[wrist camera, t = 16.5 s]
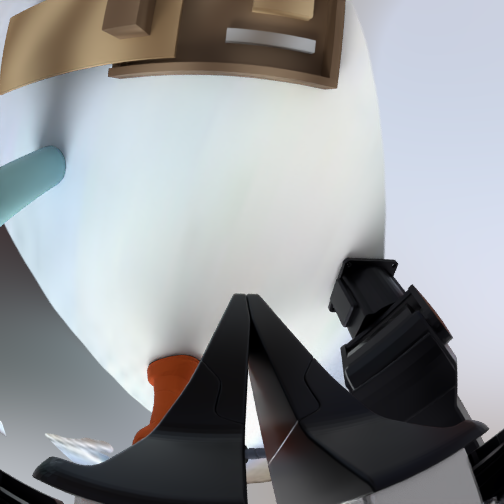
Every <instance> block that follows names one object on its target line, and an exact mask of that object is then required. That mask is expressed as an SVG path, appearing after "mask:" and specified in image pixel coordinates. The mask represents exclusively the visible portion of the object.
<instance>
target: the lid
mask: <svg viewBox="0 0 504 504" xmlns="http://www.w3.org/2000/svg"><path fill="white" fill-rule="evenodd" d="M183 3H184V0H46V1H43V2H41V3H39V4H37V5H35V6H33V7H31V8H28V9H26V10H25V11H23V12H21V13H19V14H17V15H15V16H13V17H11V18H10V22H9V26H8V30H7V35H6V40H5V45H4V51H3V57H2V64H1V73H0V95H3V94H5V93H7V92H10V91H12V90H15V89H17V88H20V87H23V86H26V85H28V84H31V83H34V82H37V81H40V80H44V79H47V78H50V77H54V76H57V75H61V74H65V73H69V72H73V71H77V70H81V69H86V68H91V67H96V66H101V65H107V64H113V63H120V62H128V61H137V60H147V59H160V58H175V57H176V49H177V41H178V34H179V27H180V21H181V15H182V9H183Z"/></svg>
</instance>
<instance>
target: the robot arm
mask: <svg viewBox="0 0 504 504" xmlns="http://www.w3.org/2000/svg"><path fill="white" fill-rule="evenodd" d="M348 263H349V264H348ZM347 264H348V265H347ZM393 264H394V265H393ZM392 265H393V266H392ZM397 266H398V263H397V262H396V261H395V260H388V259H360V258H347V259H345V260H344V262H343V264H342V267H341V271H340V274H339V277H338V279H337V280H336V283H335V286H334V289H333V292H332V294H331V297H330V303H329V306H328V308H329V311H330V312H336V313H337V315H338V317H339V319H340V321H341V324H342V325H343V327H347V328H348V330H349V332H350V335H351V337H352V340H351V341H350V342H349V343H347V344H345V345H343V346H342V347H341V356H342V364H343V372H344V379H345V385H346V387H347V388H348V389H349V392H348V391H347V390H346V389H345V388H344V387H343V386H341V385H340V384H339V383H338V382H337V381H336V380H335V379H334V378H333V377H332V376H331V375H330V374H329V373H328V372H327V371H326V370H325V369H324V368H323V367H322V366H321V365H320V364H319V363H318V362H317V360H316V359H315V358H313V356H312V355H311V354H310V353H309V352H308V350H307V349H306V348H305V347H304V346H303V345H302V344H301V343H300V341H299V340H298V339H297V338H296V337H295V336H294V335H293V333H292V332H291V331H290V330H289V329H288V328H287V327H286V325H285V324H284V323H283V322H282V321H281V320H280V319H279V317H278V316H277V315H276V314H275V313H274V312H273V310H272V309H271V308H270V307H269V306H268V305H267V304H266V302H265V301H264V300H263V299H262V298H261V297H260V295H258V294H247V295H245V294H234V295H233V296H232V298H231V300H230V302H229V304H228V306H227V308H226V310H225V312H224V314H223V316H222V318H221V320H220V322H219V324H218V326H217V328H216V330H215V332H214V334H213V336H212V338H211V340H210V342H209V344H208V346H207V348H206V350H205V352H204V354H203V356H202V358H201V361H200V362H199V364H198V366H197V368H196V370H195V372H194V374H193V375H192V377H191V379H190V381H189V382H188V384H187V385H186V387H185V388H184V390H183V391H182V393H181V394H180V396H179V397H178V398H177V400H176V401H175V403H174V404H173V405H172V407H171V408H170V409H169V411H168V412H167V413H166V415H165V416H164V417H163V419H162V420H161V421H160V423H159V424H158V425H157V426H156V428H155V429H154V430H153V431H152V432H151V433H150V434H149V435H147V436H146V437H145V438H143V439H142V440H140V441H138V442H137V443H135V444H134V445H132V446H130V447H129V448H127V449H125V450H124V451H122V452H120V453H119V454H117V455H115V456H113V457H112V458H110V459H108V460H106V461H104V462H102V463H100V464H96V465H79V464H76V463H73V462H70V461H67V460H64V459H61V458H57V457H49V458H48V459H46V460H45V461H44V462H43V463H41V464H40V465H39V466H38V467H37V468H36V469H35V471H34V473H33V475H32V476H33V477H34V478H36V479H37V480H40V481H42V482H44V483H46V484H48V485H50V486H52V487H55V488H57V489H59V490H62V491H64V492H66V493H69V494H71V495H74V496H75V502H74V504H248V500H247V482H246V461H245V422H246V402H247V382H248V370H249V375H250V381H251V386H252V391H253V396H254V401H255V406H256V411H257V416H258V420H259V425H260V430H261V435H262V439H263V444H264V449H265V453H266V458H267V462H268V467H269V472H270V476H271V480H272V485H273V489H274V493H275V497H276V502H277V504H504V429H503V430H502V431H500V432H499V433H498V434H496V435H495V436H494V437H492V438H491V439H490V440H488V441H487V442H486V443H484V442H483V440H482V438H481V436H482V435H483V434H484V433H485V432H487V431H488V430H489V428H488V427H487V426H486V425H485V424H484V423H482V422H479V421H475V420H472V419H471V418H470V416H469V414H468V412H467V410H466V409H465V407H464V405H463V404H462V402H461V400H460V398H459V397H458V395H457V358H456V356H455V354H454V353H453V351H452V350H451V348H450V347H449V346H448V344H447V343H448V342H449V341H450V340H451V339H452V338H453V337H452V335H451V334H450V332H449V330H448V329H447V327H446V326H445V324H444V323H443V321H442V320H441V318H440V317H439V316H438V314H437V313H436V312H435V310H434V309H433V308H432V307H431V305H430V304H429V303H428V302H427V300H426V299H425V298H424V297H423V296H422V295H421V293H420V292H419V291H418V290H417V289H416V288H415V287H414V286H413V285H411V286H410V287H409V288H408V290H407V291H406V292H405V291H404V289H403V288H402V287H401V286H400V284H399V283H398V282H397V280H396V279H395V278H394V277H393V276H394V273H395V271H396V268H397ZM0 504H64V503H63V502H62V501H60V500H58V499H55V498H53V497H51V496H48V495H46V494H44V493H42V492H40V491H38V490H36V489H34V488H32V487H30V486H28V485H26V484H24V483H23V482H21V481H19V480H17V479H16V478H14V477H12V476H10V475H9V474H7V473H5V472H4V471H2V470H0Z"/></svg>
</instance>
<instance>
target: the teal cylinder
mask: <svg viewBox="0 0 504 504" xmlns="http://www.w3.org/2000/svg"><path fill="white" fill-rule="evenodd" d="M65 169H66V164H65V159H64V156H63V154H62V153H61V151H60V150H59V149H58V148H56V147H54V146H47V147H44V148H42V149H39V150H37V151H34V152H32V153H29V154H27V155H25V156H23V157H20V158H18V159H16V160H14V161H12V162H10V163H8V164H5V165H3V166H1V167H0V226H2V225H3V224H4V223H5V222H6V221H8V220H9V219H10V218H11V217H13V216H14V215H15V214H16V213H18V212H19V211H20V210H22V209H23V208H24V207H26V206H27V205H28V204H30V203H31V202H32V201H34V200H35V199H36V198H38V197H39V196H41V195H42V194H44V193H45V192H46V191H48V190H49V189H51V188H52V187H54V186H55V185H57V184H58V183H60V182H61V180H62V179H63V177H64V174H65Z"/></svg>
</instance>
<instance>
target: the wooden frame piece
mask: <svg viewBox="0 0 504 504" xmlns="http://www.w3.org/2000/svg"><path fill="white" fill-rule="evenodd" d="M344 15H345V0H184V3H183V9H182V15H181V21H180V27H179V34H178V41H177V49H176V57H175V58H160V59H147V60H137V61H128V62H120V63H113V66H112V68H109V71H108V77H113V78H119V79H123V78H132V77H143V76H158V75H224V76H239V77H250V78H260V79H268V80H275V81H282V82H289V83H295V84H300V85H306V86H311V87H316V88H321V89H336V88H337V85H338V77H339V68H340V59H341V50H342V40H343V28H344Z"/></svg>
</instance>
